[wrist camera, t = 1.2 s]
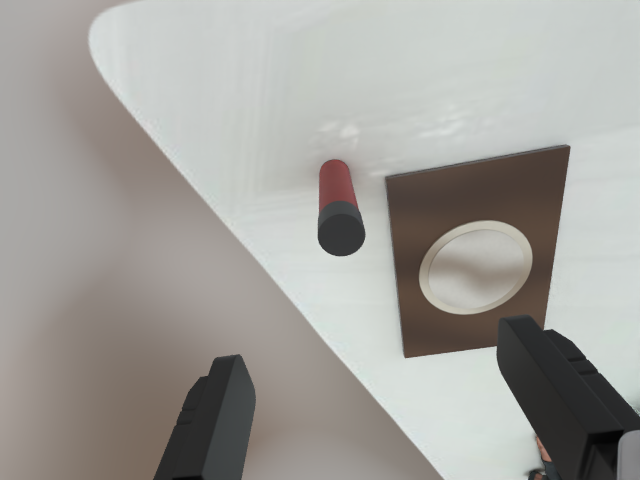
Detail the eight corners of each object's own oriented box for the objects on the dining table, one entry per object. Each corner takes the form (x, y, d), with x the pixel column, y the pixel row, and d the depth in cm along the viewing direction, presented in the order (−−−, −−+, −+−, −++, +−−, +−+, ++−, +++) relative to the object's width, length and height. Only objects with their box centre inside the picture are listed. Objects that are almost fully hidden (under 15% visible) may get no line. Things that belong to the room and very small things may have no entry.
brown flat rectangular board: (385, 177, 28) (387, 180, 27) (565, 144, 27) (573, 147, 26) (403, 354, 37) (405, 360, 36) (538, 336, 36) (543, 342, 35)
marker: (316, 161, 27) (313, 218, 18) (347, 156, 27) (362, 210, 17) (321, 191, 28) (322, 260, 19) (351, 185, 28) (368, 252, 18)
